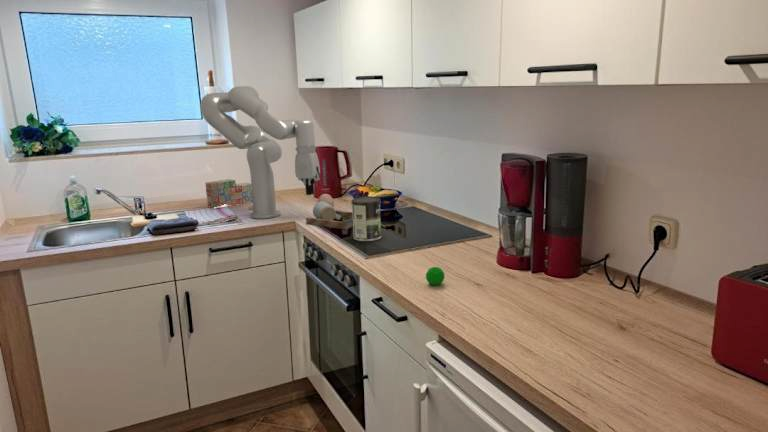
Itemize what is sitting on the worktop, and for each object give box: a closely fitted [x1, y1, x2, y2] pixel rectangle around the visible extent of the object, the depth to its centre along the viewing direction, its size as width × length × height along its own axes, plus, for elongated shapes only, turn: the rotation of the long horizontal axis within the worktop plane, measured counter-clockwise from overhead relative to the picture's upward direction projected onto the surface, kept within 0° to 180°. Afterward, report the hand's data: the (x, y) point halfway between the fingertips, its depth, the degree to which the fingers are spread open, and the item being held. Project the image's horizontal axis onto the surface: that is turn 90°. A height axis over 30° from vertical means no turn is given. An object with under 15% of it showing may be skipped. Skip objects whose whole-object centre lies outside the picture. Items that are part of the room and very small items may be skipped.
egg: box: [317, 193, 335, 208], centre depth 239 cm, size 7×7×8 cm
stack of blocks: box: [205, 178, 253, 209], centre depth 262 cm, size 21×6×12 cm, turn 132°
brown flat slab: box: [305, 209, 353, 230], centre depth 222 cm, size 20×16×3 cm
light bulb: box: [312, 201, 341, 221], centre depth 225 cm, size 11×8×8 cm
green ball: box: [425, 266, 445, 286], centre depth 149 cm, size 5×5×5 cm
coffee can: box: [351, 196, 382, 242], centre depth 196 cm, size 10×10×14 cm
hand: (310, 194), depth 228 cm, fingers closed
